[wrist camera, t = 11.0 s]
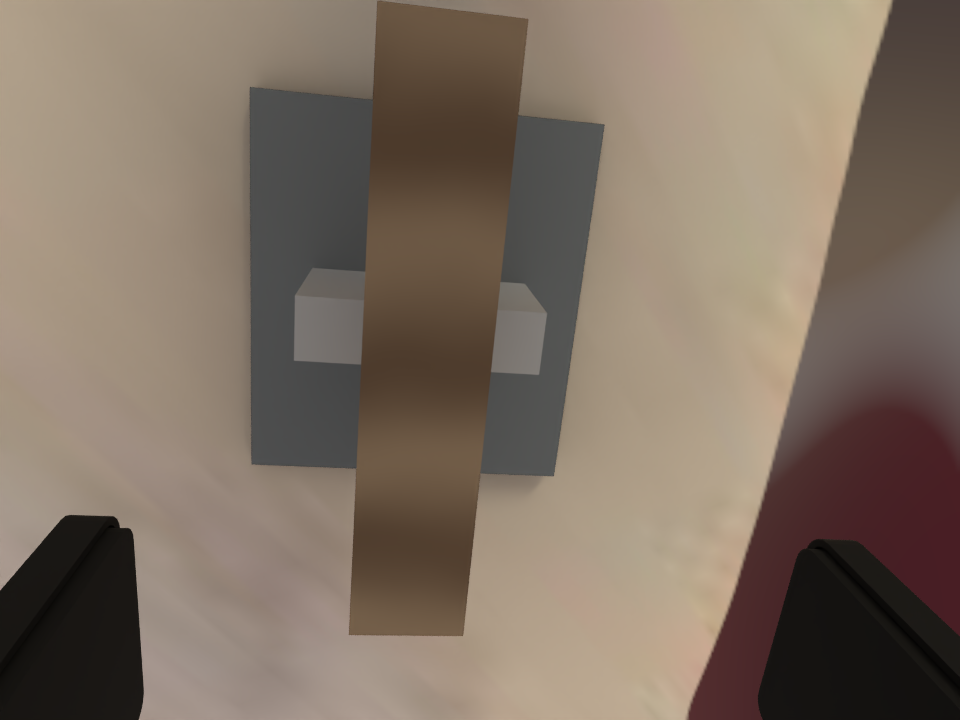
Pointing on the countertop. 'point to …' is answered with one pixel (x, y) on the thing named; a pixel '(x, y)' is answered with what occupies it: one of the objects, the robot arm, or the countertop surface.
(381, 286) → the walnut bar
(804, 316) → the countertop surface
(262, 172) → the slate board
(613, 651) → the countertop surface
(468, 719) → the countertop surface
